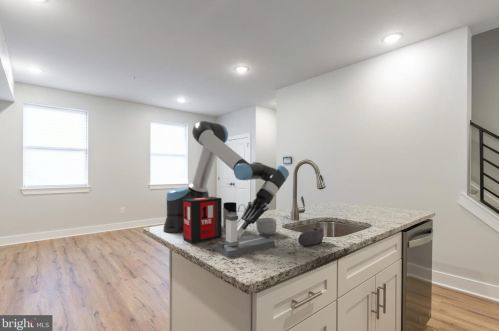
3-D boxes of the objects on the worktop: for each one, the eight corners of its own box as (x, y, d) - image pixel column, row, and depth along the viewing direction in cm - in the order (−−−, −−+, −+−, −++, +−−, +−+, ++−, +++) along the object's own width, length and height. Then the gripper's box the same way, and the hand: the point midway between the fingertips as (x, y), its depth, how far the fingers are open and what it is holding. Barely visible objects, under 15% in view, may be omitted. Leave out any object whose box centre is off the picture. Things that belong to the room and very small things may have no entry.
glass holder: (220, 228, 143) (220, 202, 143) (242, 225, 150) (242, 201, 150) (225, 231, 135) (225, 204, 135) (248, 228, 142) (248, 202, 142)
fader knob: (224, 243, 105) (224, 215, 105) (232, 242, 107) (232, 214, 107) (230, 246, 101) (230, 216, 101) (238, 244, 103) (238, 215, 103)
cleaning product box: (212, 234, 131) (212, 196, 131) (221, 237, 124) (221, 198, 124) (183, 240, 120) (183, 199, 121) (191, 244, 113) (191, 201, 114)
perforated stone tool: (302, 249, 106) (302, 232, 106) (294, 245, 110) (294, 230, 110) (327, 243, 113) (327, 228, 113) (318, 240, 118) (318, 226, 118)
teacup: (273, 237, 123) (273, 221, 123) (253, 236, 127) (253, 220, 127) (279, 231, 136) (279, 216, 137) (260, 229, 140) (260, 215, 140)
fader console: (213, 249, 106) (213, 239, 106) (258, 239, 120) (258, 230, 120) (227, 257, 96) (227, 246, 96) (274, 246, 110) (274, 236, 110)
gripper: (280, 199, 111) (251, 243, 102) (262, 197, 122) (234, 236, 112) (271, 188, 108) (240, 232, 99) (254, 186, 119) (224, 226, 109)
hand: (237, 234), depth 105 cm, fingers closed
